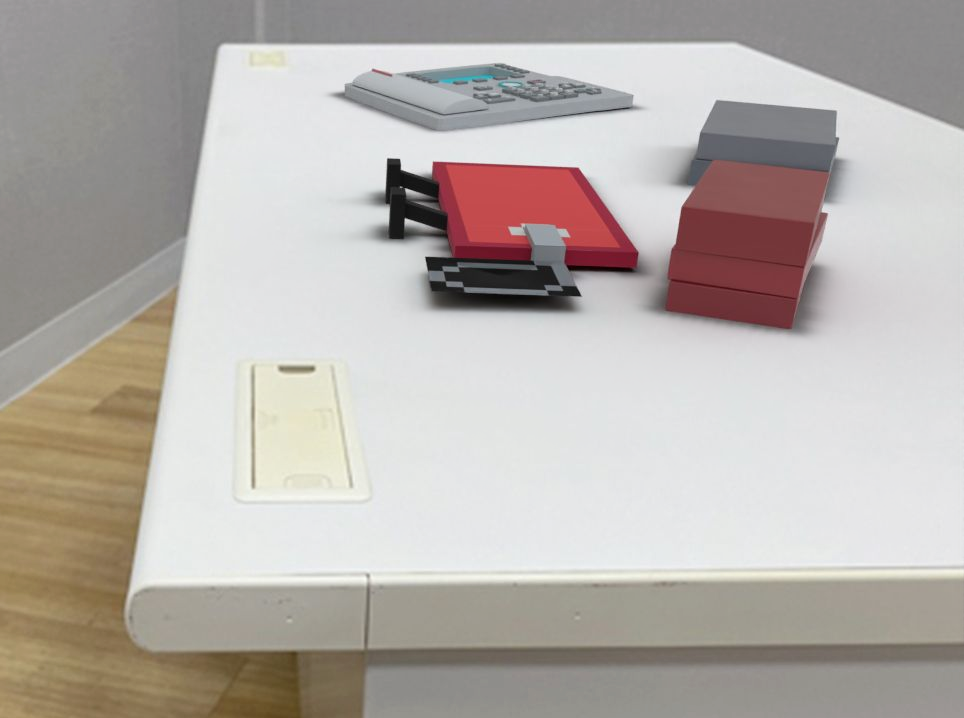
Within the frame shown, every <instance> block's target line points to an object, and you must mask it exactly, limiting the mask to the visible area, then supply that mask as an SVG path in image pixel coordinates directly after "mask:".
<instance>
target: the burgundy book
mask: <svg viewBox="0 0 964 718" xmlns="http://www.w3.org/2000/svg"><path fill="white" fill-rule="evenodd" d="M829 176H831V174H830V173H829V172H822V171H813V170H804V169H795V168H786V167H777V166H768V165H759V164H750V163H741V162H732V161H723V160H713V161H712V163H711V164H710V166H709V167H708V169H707V170H706V172H705V173H704V174H703V176H702V177H701V179H700V180H699V182H698V183H697V185H696V186H694V188H693V189H692V191H691V192H690V193H689V195H688V197H687V198H686V200H685V201H684V202H683V204H682V206H680V207H681V208H680V213H679V220H678V225H677V226H678V227H677V232H676V238H675V239H676V240H675V244H674V245H675V249H676V250H682V251H690V252H697V253H705V254H712V255H720V256H727V257H734V258H742V259H749V260H757V261H764V262H771V263H779V264H786V265H794V266H801V267H805V266H806V263H807V259H808V256H809V252H810V249H811V246H812V242H813V239H814V236H815V232H816V229H817V225H818V222H819V219H820V215H821V212H823V207H824V203H825V198H826V194H827V190H828V184H829V180H830V177H829Z"/></svg>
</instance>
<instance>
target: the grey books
mask: <svg viewBox="0 0 964 718" xmlns="http://www.w3.org/2000/svg"><path fill="white" fill-rule="evenodd" d="M837 118H838V110H834V109H825V108H824V109H823V108H814V107H802V106H801V107H800V106H791V105H790V106H789V105H777V104H766V103H755V102H745V101H732V100H723V99H716V100H715V102H714V104H713V106H712V107H711V110H710V112H709V113H708V116H707V117H706V120H705V122H704V124H703V126H702V128H701V130H700V131H699V137H698V143H697V148H696V153H695V155H694V156H693V158H692V159H691V161H690V167H689V174H688V181H687V186H693V187H695V186H696V185H697V183H698V182H699V180H700V179H701V177H702V176H703V174H704V173H705V172H706V170H707V169H708V167H709V166H710V164H711V163H712V161H713V160H723V161H732V162H741V163H750V164H759V165H768V166H777V167H786V168H795V169H804V170H813V171H822V172H829V173H830V176H831V173H832V171H833V168H834V167H833V166H834V163H835V160H836V155H837V151H838V146H839V142H840V137H839V136H837ZM830 176H829V178H830Z"/></svg>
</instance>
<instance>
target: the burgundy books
mask: <svg viewBox="0 0 964 718" xmlns="http://www.w3.org/2000/svg"><path fill="white" fill-rule="evenodd" d="M828 216H829V213H828V212H823V211H822V212H821V215H820V219H819V222H818V225H817V229H816V232H815V236H814V239H813V242H812V246H811V249H810V252H809V256H808V259H807V263H806V266H805V267H801V266H794V265H786V264H779V263H771V262H764V261H757V260H749V259H742V258H734V257H727V256H720V255H712V254H705V253H697V252H690V251H682V250H676V249H675V244H674V245H673V246H672V248H671V251H670V257H669V264H668V269H667V274H666V275H667V276H666V278H667V280H670V281H669V282H668V288H667V294H666V300H665V307H664V311H665V312H671V313H678V314H685V315H691V316H697V317H698V316H699V317H705V318H711V319H712V318H713V319H719V320H724V321H731V322H738V323H745V324H751V325H758V326H764V327H771V328H777V329H783V330H792V328H793V325H794V323H795V322H794V321H795V320H796V319H795V318H796V315H797V311H798V308H799V304H800V301H801V298H802V294H803V290H804V288H805V287H804V286H805V285H806V284H805V283H806V281H807V279H808V275H809V273H810V270H811V268H812V266H813V263H814V261H815V259H816V256H817V255H818V253H819V249H820V247H821V244H822V242H823V238H824V235H825V229H826V225H827V222H828V221H827V220H828Z"/></svg>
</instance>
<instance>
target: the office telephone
mask: <svg viewBox="0 0 964 718" xmlns="http://www.w3.org/2000/svg"><path fill="white" fill-rule="evenodd" d="M344 97H345V98H348V99H351V100H353V101H356V102H359V103H361V104H364V105H366V106H370V107H373V108H375V109H377V110H379V111H383V112H385V113H388V114H390V115H394V116H396V117H398V118H402V119H404V120H408V121H411V122H413V123H416V124H419V125H422V126H424V127H427V128H430V129H433V130H435V131H448V130H456V129H465V128H466V129H467V128H473V127H475V128H476V127H484V126H491V125H500V124H507V123H516V122H524V121H531V120H538V119H545V118H554V117H559V116H567V115H575V114H576V115H577V114H582V113H591V112H598V111H609V110H616V109H623V108H631V107H633V103H634V94H632V93H629V92H626V91H622V90H618V89H613V88H609V87H605V86H601V85H599V84H598V85H597V84H593V83H589V82H587V81H586V82H585V81H581V80H577V79H575V78H570V77H565V76H561V75H549V74H545V73H540V72H536V71H532V70H528V69H524V68H519V67H516V66H514V65H513V66H512V65H510V64H509V65H508V64H506V63H504V62H493V63H483V64H472V65H462V66H453V67H450V66H449V67H442V68H432V69H431V68H430V69H421V70H412V71H403V72H396V73H395V72H389V71H385V70H379V69H376V68H371V70H370V71H365V72H363V73H361V74H359V75H357V76H356V77H355V78H354V79H353V80H352V82H348V83H344Z"/></svg>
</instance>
